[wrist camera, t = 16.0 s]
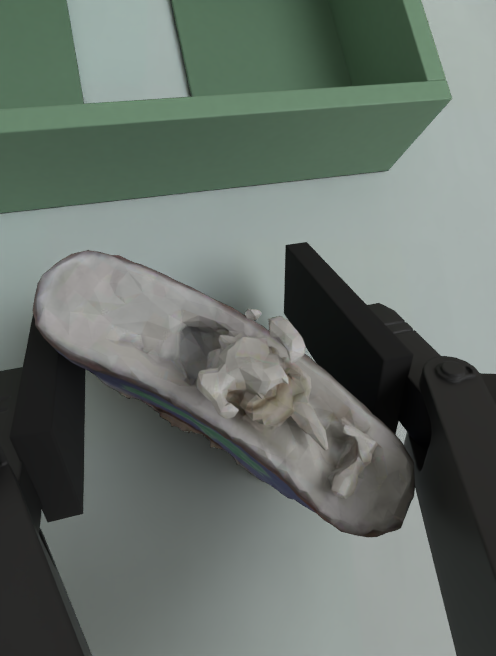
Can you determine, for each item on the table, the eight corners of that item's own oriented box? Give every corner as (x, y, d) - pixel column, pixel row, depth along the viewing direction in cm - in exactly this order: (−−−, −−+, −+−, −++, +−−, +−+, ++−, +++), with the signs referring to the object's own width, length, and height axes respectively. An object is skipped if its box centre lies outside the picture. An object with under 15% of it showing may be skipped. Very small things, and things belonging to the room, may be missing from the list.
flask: (79, 370, 17) (-39, 288, 7) (125, 308, 18) (78, 152, 8) (284, 499, 18) (454, 599, 7) (320, 433, 19) (518, 440, 8)
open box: (-136, 228, 17) (-254, 151, 12) (-161, -75, 19) (-268, -241, 14) (388, 170, 22) (452, 98, 17) (320, -69, 24) (360, -193, 19)
